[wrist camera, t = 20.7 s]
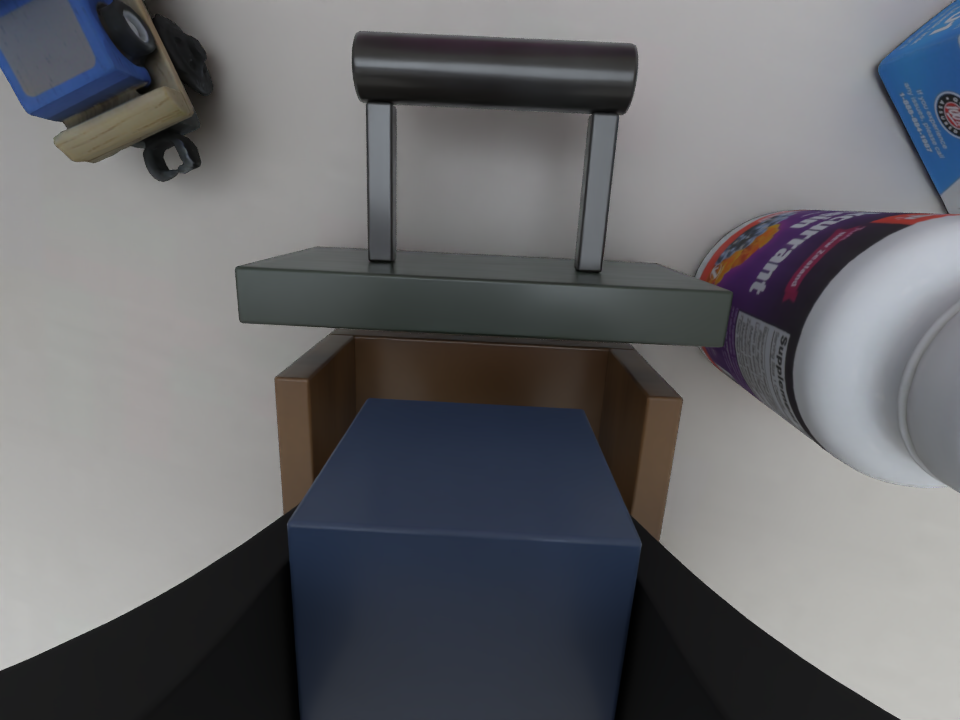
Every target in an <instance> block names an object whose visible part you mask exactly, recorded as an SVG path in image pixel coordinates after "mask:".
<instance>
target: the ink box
mask: <svg viewBox="0 0 960 720" xmlns="http://www.w3.org/2000/svg"><path fill="white" fill-rule="evenodd" d="M878 73H879V75H880V77H881V79H882V81H883V83H884V85H885V87H886V89H887V91H888V93H889V95H890V97H891V99H892V101H893V103H894V105H895V107H896V109H897V111H898V113H899V115H900V117H901V119H902V121H903V123H904V125H905V127H906V129H907V131H908V133H909V135H910V137H911V139H912V141H913V143H914V145H915V147H916V149H917V151H918V153H919V156H920V157H921V159H922V161H923V163H924V165H925V167H926V169H927V171H928V173H929V175H930V177H931V179H932V181H933V183H934V185H935V187H936V189H937V191H938V193H939V195H940V196H941V198H942V200H943V202H944V204H945V206H946V209H947V211H948V213H949V214H960V0H956V1H954V2H953V3H952V4H950V5H949V6H948V7H946V8H945V9H944V10H942V11H941V12H940V13H938V14H937V15H936V16H934V17H933V18H932V19H931V20H929V21H928V22H927V23H926V24H924V25H923V26H922V27H921V28H919V29H918V30H917V31H916V32H915V33H913V34H912V35H911V36H910V37H908V38H907V39H906V40H905V41H904V42H903V43H901V44H900V45H899V46H898V47H897V48H896V49H895V50H893V51H892V52H891V53H890V54H889V55H888V56H886V57H885V58H884V59H883V60H882V62H881V63H880V64H879V67H878Z"/></svg>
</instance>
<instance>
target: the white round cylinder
mask: <svg viewBox="0 0 960 720" xmlns="http://www.w3.org/2000/svg"><path fill="white" fill-rule="evenodd" d="M695 278H697V279H700V280H703V281H706V282H708V283H711V284H714V285H716V286H719V287H722V288H724V289H727V290H730V291H732V292H733V299H732V305H731V310H730V315H729V321H728V326H727V332H726V337H725V342H724V346H723V347H720V348H719V347H700V349H701V351H702V352H703V353H704V355H705V356H706V357H707V358H708V359H709V360H710V361H711V362H712V363H713V364H714V365H715V366H716V367H717V368H718V369H719V370H721V371H722V372H723V373H724V374H726V375H727V376H729V377H730V378H731V379H732V380H734V381H735V382H736V383H737V384H739V385H740V386H742V387H743V388H744V389H745V390H747V391H748V392H749V393H751V394H752V395H753V396H755V397H756V398H757V399H758V400H760V401H761V402H762V403H764V404H765V405H766V406H768V407H769V408H770V409H772V410H773V411H774V412H776V413H777V414H778V415H780V416H781V417H782V418H784V419H785V420H786V421H788V422H789V423H790V424H792V425H793V426H794V427H796V428H797V429H798V430H800V431H801V432H802V433H804V434H805V435H806V436H808V437H809V438H810V439H812V440H813V441H814V442H816V443H817V444H818V445H819V446H821V447H822V448H823V449H824V450H826V451H827V452H829V453H830V454H831V455H833V456H834V457H836V458H837V459H839V460H840V461H842V462H844V463H845V464H847V465H848V466H850V467H852V468H853V469H855V470H857V471H859V472H861V473H863V474H865V475H867V476H870V477H872V478H875V479H878V480H881V481H884V482H888V483H892V484H897V485H903V486H909V487H920V488H940V487H951V488H952V489H954V490H956V491H957V492H959V493H960V214H926V213H886V212H857V211H821V210H794V211H781V212H775V213H770V214H766V215H763V216H760V217H757V218H754V219H752V220H750V221H748V222H746V223H744V224H742V225H740V226H739V227H737V228H735V229H734V230H733V231H731V232H730V233H728V234H727V235H726V236H725V237H723V238H722V239H721V240H720V241H719V242H718V243H717V244H716V245H715V246H714V247H713V248H712V249H711V251H710V252H709V253H708V254H707V256H706V257H705V259H704V260H703V262H702V263H701V265H700V267H699V269H698V271H697V273H696V275H695Z"/></svg>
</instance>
